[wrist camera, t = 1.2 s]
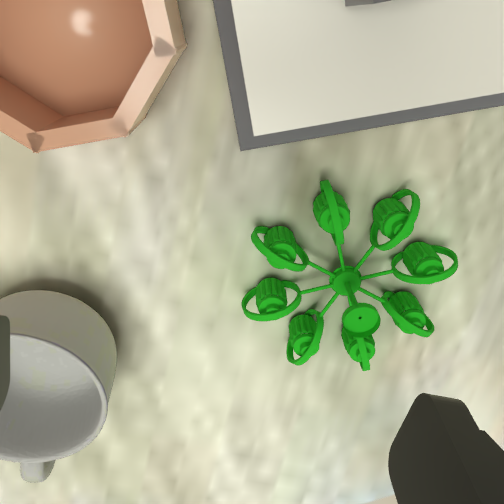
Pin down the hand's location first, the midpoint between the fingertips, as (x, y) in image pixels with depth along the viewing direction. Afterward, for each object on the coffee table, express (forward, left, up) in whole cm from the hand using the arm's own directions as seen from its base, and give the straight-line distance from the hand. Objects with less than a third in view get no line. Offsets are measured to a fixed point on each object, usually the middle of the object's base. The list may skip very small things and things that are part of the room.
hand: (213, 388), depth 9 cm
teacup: (+17, +14, -23) cm, 32 cm away
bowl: (+8, -8, -23) cm, 25 cm away
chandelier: (-6, +11, -23) cm, 26 cm away
